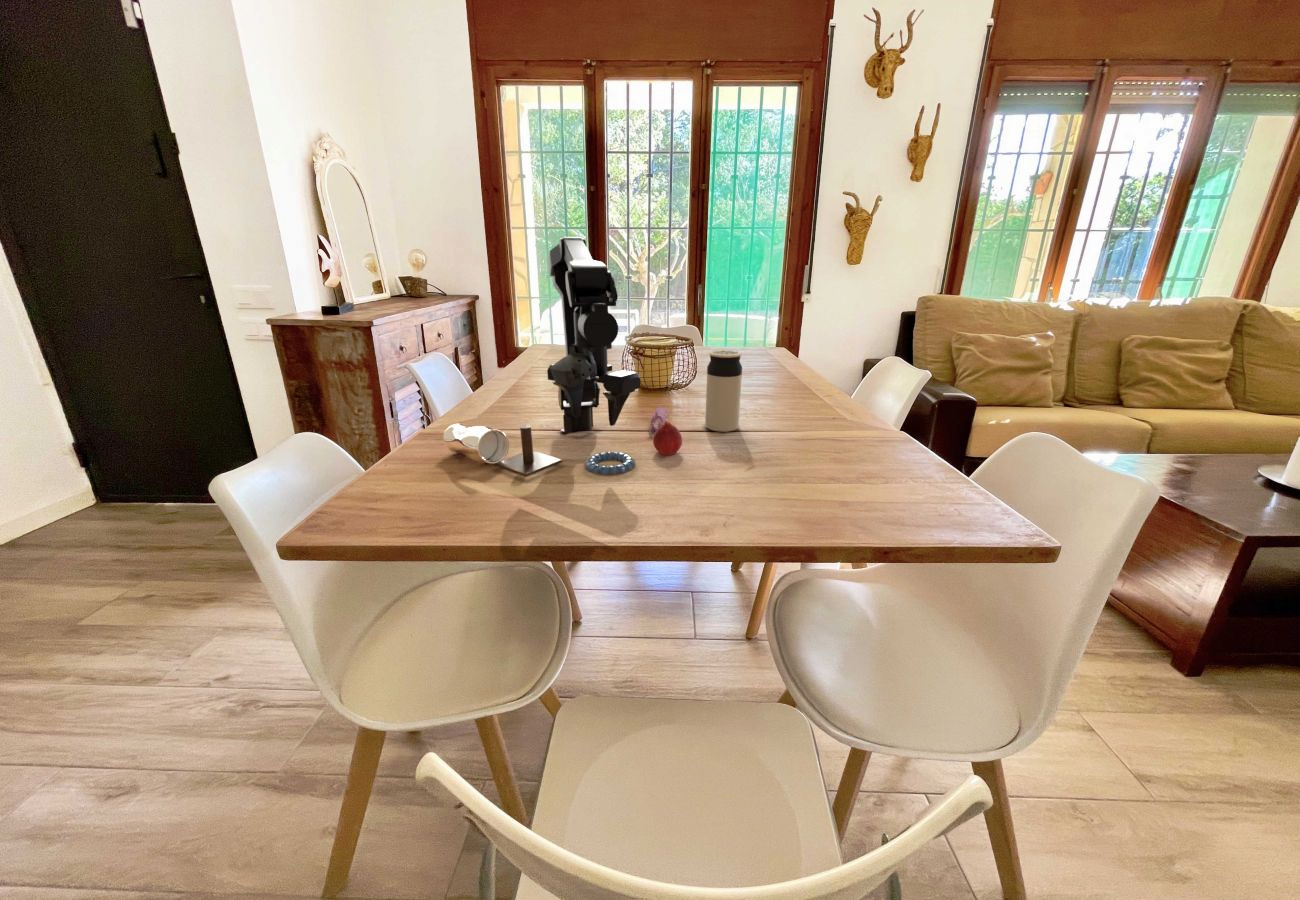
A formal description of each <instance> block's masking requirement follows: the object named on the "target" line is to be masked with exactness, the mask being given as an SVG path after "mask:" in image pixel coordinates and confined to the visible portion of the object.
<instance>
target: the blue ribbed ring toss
mask: <svg viewBox="0 0 1300 900" xmlns="http://www.w3.org/2000/svg"><path fill="white" fill-rule="evenodd" d="M605 461H618V462H621V464H616V465H601V464H599V463H600V462H605ZM635 467H636V460H635V459H634V457H633V456H631V455H630V454H628V453H624V452H619V451H603V452H599V453H595V454H593V455H591V456H589V457H588V458H587V459H586V460H585V462H584V469H586V470H587V471H588V472H589V473H593V474H597V475H605V476H612V475H620V474H624V473H625V474H626V473H628V472H630V471H631V470H633V469H635Z"/></svg>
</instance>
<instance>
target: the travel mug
mask: <svg viewBox="0 0 1300 900" xmlns="http://www.w3.org/2000/svg"><path fill="white" fill-rule="evenodd" d="M708 355H709V358H710V361H709V362H708V364H707V367H706V390H705V391H706V392H705V394H706V395H705V419H704V421H705V422H704V427H705V428H707V429H708V430H710V431H713V432H718V433H728V432H733V431H736V430H737V429H739V425H740V410H741V395H742V375H743V374H742V373H743V366H742V364H741V361H740V360H741V356H743V353H742V352H741V351H738V350H734V349H733V350H732V349H715V350H711V351H708Z"/></svg>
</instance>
